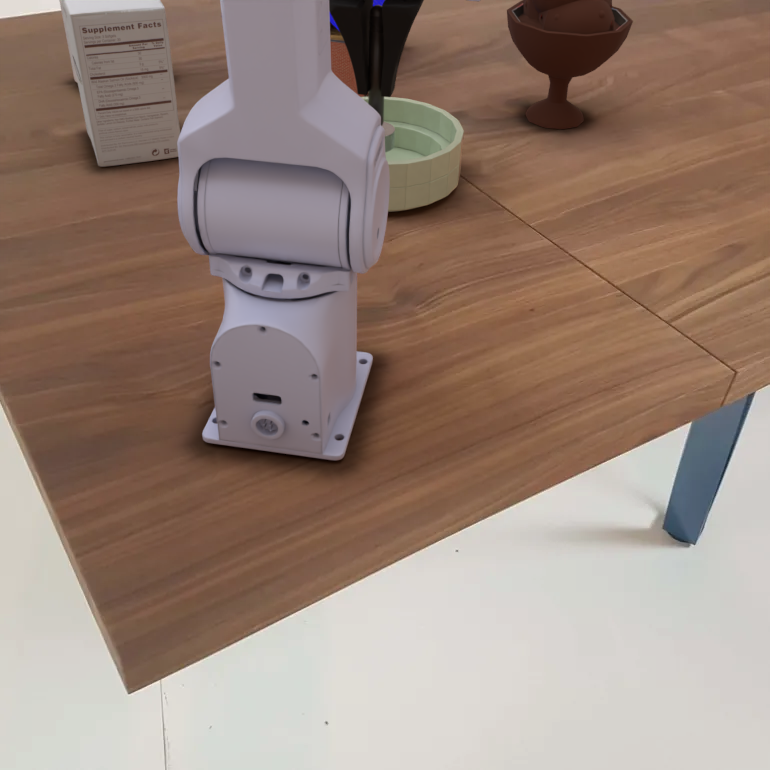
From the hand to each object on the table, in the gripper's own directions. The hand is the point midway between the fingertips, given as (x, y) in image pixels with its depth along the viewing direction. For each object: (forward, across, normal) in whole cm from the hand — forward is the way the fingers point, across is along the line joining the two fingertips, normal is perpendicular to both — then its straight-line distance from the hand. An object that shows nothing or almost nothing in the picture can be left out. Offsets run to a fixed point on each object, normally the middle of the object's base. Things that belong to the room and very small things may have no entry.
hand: (376, 90), depth 69 cm
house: (+9, +10, -25) cm, 28 cm away
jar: (+9, +29, -18) cm, 35 cm away
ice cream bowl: (+9, -14, -19) cm, 25 cm away
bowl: (+8, 0, -2) cm, 9 cm away
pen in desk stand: (+4, 0, 0) cm, 4 cm away
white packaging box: (+9, +22, -4) cm, 24 cm away
